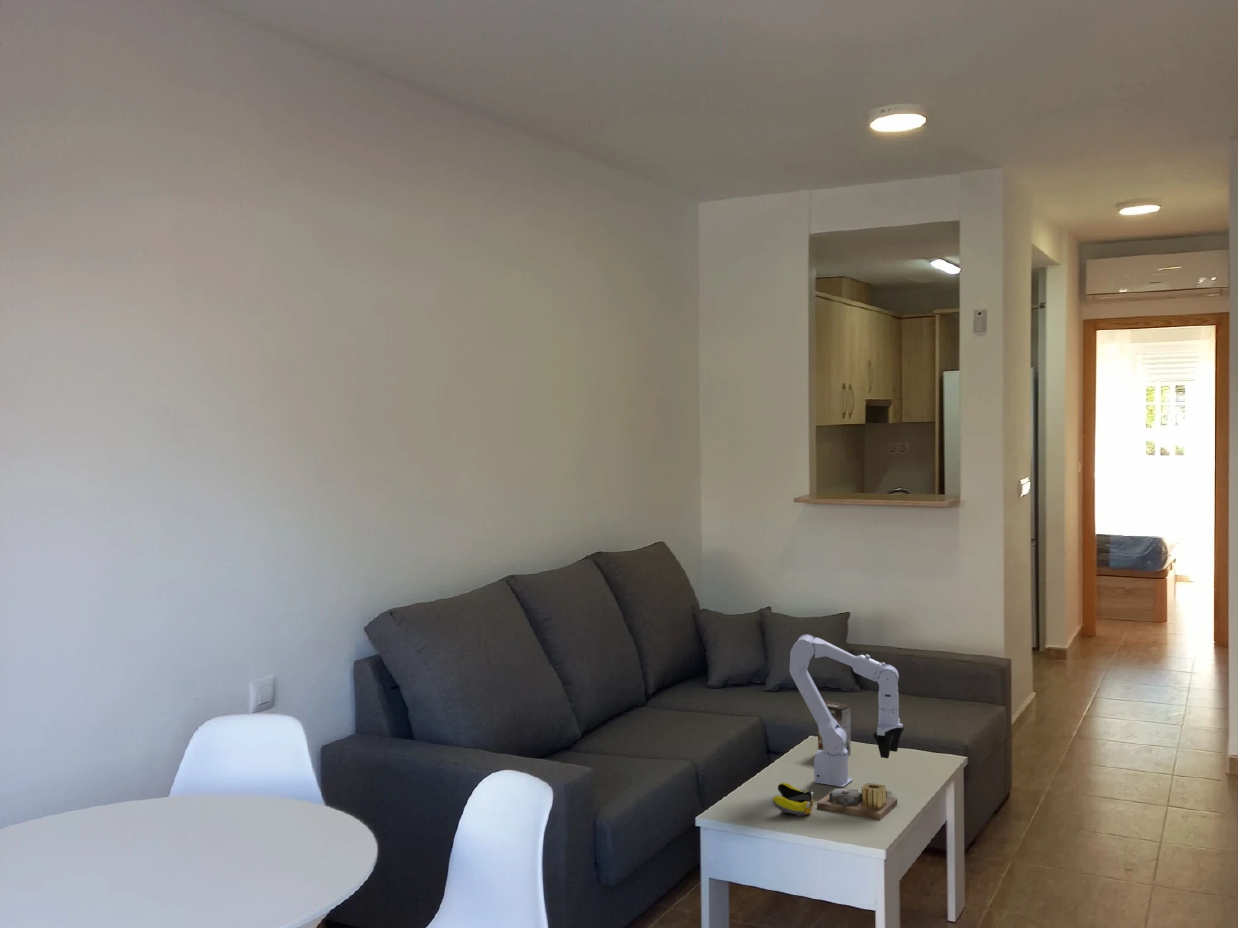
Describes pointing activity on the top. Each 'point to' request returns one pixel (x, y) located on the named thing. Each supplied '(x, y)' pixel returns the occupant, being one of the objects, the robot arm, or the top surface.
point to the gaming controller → (793, 800)
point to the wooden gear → (873, 795)
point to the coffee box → (839, 722)
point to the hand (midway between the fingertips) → (889, 754)
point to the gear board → (853, 804)
